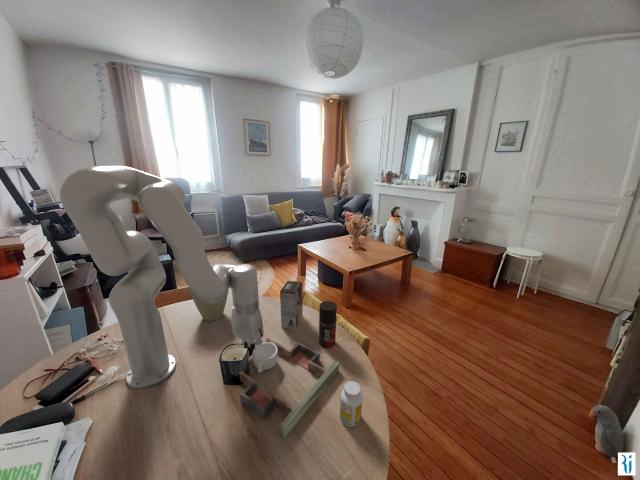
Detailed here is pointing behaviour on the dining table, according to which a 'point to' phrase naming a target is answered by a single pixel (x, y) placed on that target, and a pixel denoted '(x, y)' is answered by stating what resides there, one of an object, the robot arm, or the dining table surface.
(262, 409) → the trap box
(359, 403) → the supplement bottle
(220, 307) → the plant pot
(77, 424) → the dining table surface
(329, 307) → the deodorant
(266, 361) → the teacup
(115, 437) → the dining table surface
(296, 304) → the coffee box
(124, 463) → the dining table surface
